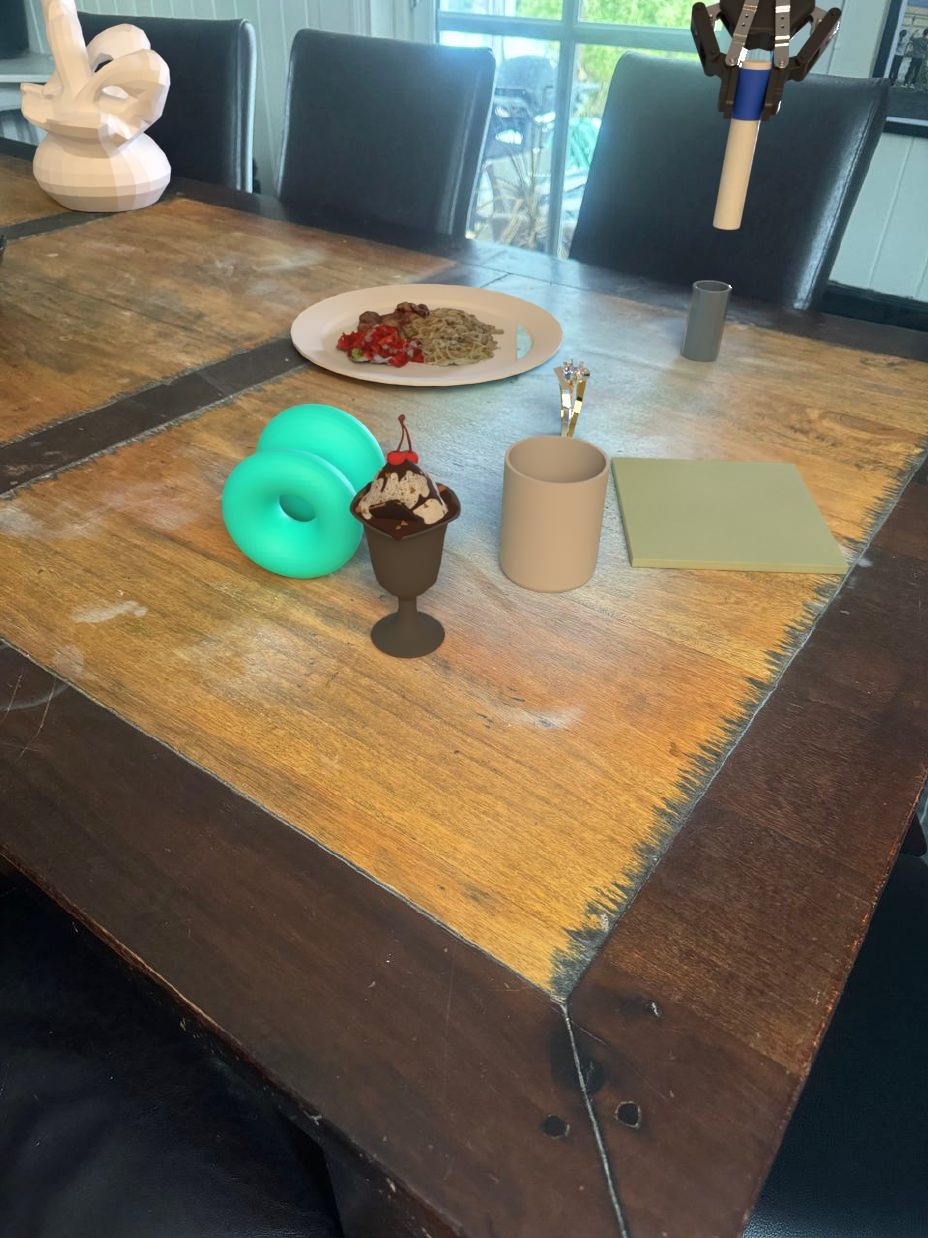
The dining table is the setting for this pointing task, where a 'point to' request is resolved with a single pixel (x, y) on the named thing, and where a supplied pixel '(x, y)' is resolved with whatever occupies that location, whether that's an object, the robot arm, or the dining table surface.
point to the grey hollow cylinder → (705, 320)
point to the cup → (552, 512)
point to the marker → (741, 142)
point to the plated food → (425, 334)
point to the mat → (722, 517)
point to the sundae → (406, 546)
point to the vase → (98, 116)
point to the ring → (570, 393)
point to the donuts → (302, 491)
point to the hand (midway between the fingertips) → (747, 113)
